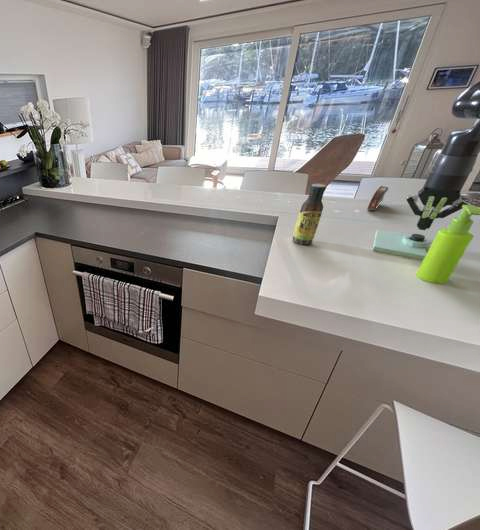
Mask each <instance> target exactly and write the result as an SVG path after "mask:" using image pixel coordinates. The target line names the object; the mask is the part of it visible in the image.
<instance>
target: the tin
mask: <svg viewBox="0 0 480 530" xmlns="http://www.w3.org/2000/svg"><path fill="white" fill-rule="evenodd" d="M388 190H389V187H388V186H383V185H380V186H379V187H378V188H377V189H376V190H375V192H374V193H373V194H372V195H373V196H372V197H371V200H370V202H369V203H368V205H367V209H369V210H368V211H372V210H375V209H376V207H377V206H378V205H379V203H380V202H381V201H382V202H383V200H384V197H385V195H386V193H387V192H388ZM382 202H381V203H382ZM379 206H380V205H379ZM376 210H377V209H376ZM376 210H375V211H376Z"/></svg>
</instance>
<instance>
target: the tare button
mask: <svg viewBox="0 0 480 530" xmlns="http://www.w3.org/2000/svg"><path fill="white" fill-rule="evenodd" d="M411 234H412V236H411V238H410V239H411V240H413V241H417V242H423V240H424V238H426V236H425V235H424V234H419V233H411Z"/></svg>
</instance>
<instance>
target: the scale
mask: <svg viewBox="0 0 480 530" xmlns="http://www.w3.org/2000/svg"><path fill="white" fill-rule="evenodd" d="M412 234H413V233H405V232H399V231H392V230H387V229H386V230H385V229H380V228H377V229H376V231H375V235H374V240H373V246H372V251H375V252H379V253H385V254H391V255H395V256H401V257H406V258H412V259H416V260H422V261H423V260H424V258H425V256H426V254H427V248H428V247H429V246H430V245H431V244H430V243H431V240H430V239H429V238H427V237H425V238H424V240H423V242H417V241H413V240H411V239H410V238H411V236H412Z"/></svg>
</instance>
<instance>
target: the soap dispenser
mask: <svg viewBox="0 0 480 530" xmlns="http://www.w3.org/2000/svg"><path fill="white" fill-rule="evenodd" d="M462 207H463V208H462V211H461V213H460V215H459V216H456V217H453V218H452V220H451V221H450V223H449V225H448V226H447V228H440V229H439V230H438V231H437V234H436V235H435V237H434V239H433V242H431V244H430V246H429V249H428V250H427V251H426V256H425V258H424V260H422V261H421V263H420V265H419V268H418V270H417V271H416V273H415V275H416V276H417V277H418V278H419V279H421V280H423V281H425V282H428V283H433V284H438V285H439V284H445V283H447V282H448V280H449V279H450V277H451V275H452V273H453V272H454V270H455V269H456V267H457V265H458V264H459V262H460V260H461V258H462V257H463V255H464V254H465V252H466V250H467V248H468V247H469V246H470V243H471V242H472V241H473V239H474V234H472V233H471V232H469V231H470V229H471V228H472V225H473V224H474V223H475V221H474V220H473V219H472V218H471V217H472V216H480V208H479V207H478V206H476V205H474V204H473V205H472V204H467V205H463V206H462Z"/></svg>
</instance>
